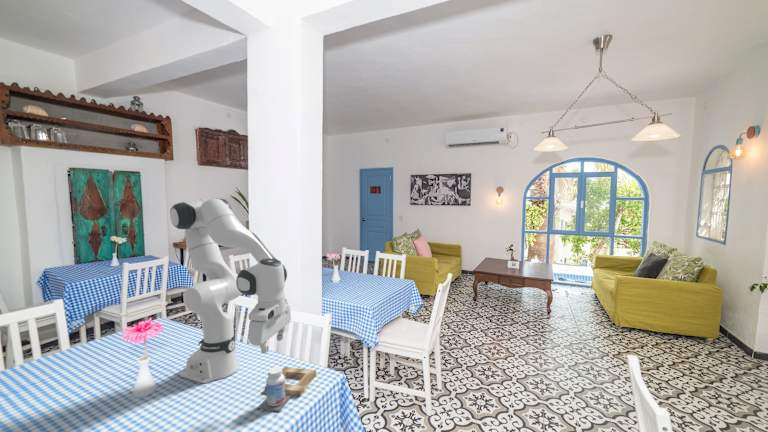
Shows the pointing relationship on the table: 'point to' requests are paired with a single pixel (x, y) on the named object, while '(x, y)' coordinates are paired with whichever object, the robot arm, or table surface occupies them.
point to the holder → (306, 379)
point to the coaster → (274, 408)
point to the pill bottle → (275, 387)
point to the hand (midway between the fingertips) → (272, 345)
